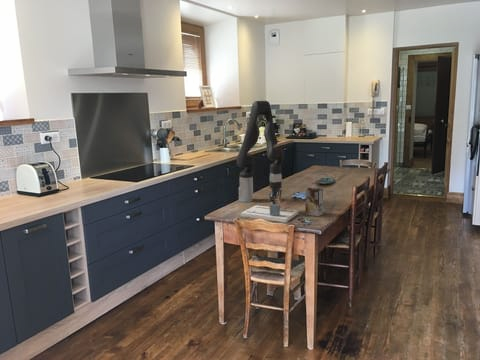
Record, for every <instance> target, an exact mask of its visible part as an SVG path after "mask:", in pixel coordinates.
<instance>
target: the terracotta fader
mask: <svg viewBox="0 0 480 360" xmlns="http://www.w3.org/2000/svg"><path fill="white" fill-rule="evenodd" d="M271 204H272V202H271V201H270V205H271ZM276 204H278V205H280V206H281V198H280V199H276Z"/></svg>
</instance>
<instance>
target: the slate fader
mask: <svg viewBox="0 0 480 360" xmlns="http://www.w3.org/2000/svg"><path fill="white" fill-rule="evenodd" d="M269 207H270V215H275V216H278V215H280V208H281V204H280V205H278V204H271V203H270V205H269Z"/></svg>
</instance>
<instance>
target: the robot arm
mask: <svg viewBox="0 0 480 360" xmlns="http://www.w3.org/2000/svg"><path fill="white" fill-rule="evenodd" d="M260 116H264V118H265V126H264V130H263V137H264V140H265V143H266V156H267V158H268V160H270V161H274V162H273V163H271V164H270V165H269V188H270V189H271V193H269V199H270V200H269V201H270V203H271V202H272V204H276V199H280V200H281V196H282V185H283V183H282V182H283V179H282V178H283V176H282V165H283V162H284V159H285V151H284V149H283V148H281V147H277V148H274V146H277V145H278V143H279V142H278V137H277V135H276V131H275V127H274V126H275V125H274V120H273V111H272V107H271V104H270V102H269V101H268V100H257V101H256V100H255V101H254V102H253V103H252V105H251V108H250V113H249V119H248V124H247V127H246V130H245V133H244V136H243V141H242V144H241V147H240V150H239V152H238V154H237V158H236V166H237V167H239V168H242V169H243V168H244V170H242V171H240V173H239V187H238V201H239V202H242V203H249V202H250V203H251V202H253V201H254V178H253V177H254V176H253V175H254V165H255V164H254V163H255V162H254V161H255V160H254V156H253V154H252V153H249V152H250V151H251V150H252V149H253V147H255V146H256V145H257V143H258V141H259V137H260V133H261V132H260V129H259V125H258V118H259V117H260Z"/></svg>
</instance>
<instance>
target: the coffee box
mask: <svg viewBox="0 0 480 360" xmlns="http://www.w3.org/2000/svg"><path fill="white" fill-rule="evenodd" d="M323 192H324V190H323V188H319V187H317V188H316V187H307V188H306V189H305V215H306V216H314V217H320V216H322V215H323V212H324V211H323V207H324V206H323V205H324V204H323V201H324V199H323V198H324V197H323V196H324V195H323V194H324V193H323Z"/></svg>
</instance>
